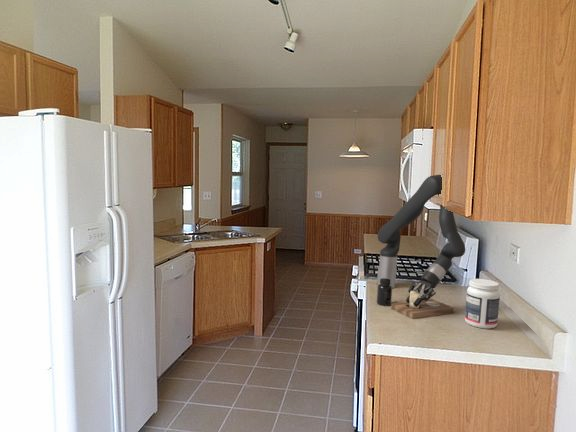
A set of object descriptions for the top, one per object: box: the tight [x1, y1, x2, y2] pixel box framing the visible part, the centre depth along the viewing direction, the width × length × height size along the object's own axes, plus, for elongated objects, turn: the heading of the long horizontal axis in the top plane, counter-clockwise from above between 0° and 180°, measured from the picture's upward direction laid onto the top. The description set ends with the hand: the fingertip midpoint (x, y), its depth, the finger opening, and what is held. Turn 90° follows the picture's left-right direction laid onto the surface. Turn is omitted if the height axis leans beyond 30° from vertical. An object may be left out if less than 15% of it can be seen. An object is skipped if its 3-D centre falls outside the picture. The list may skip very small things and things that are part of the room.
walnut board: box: [391, 298, 455, 320], centre depth 197 cm, size 14×24×3 cm, turn 115°
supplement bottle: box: [376, 278, 393, 307], centre depth 205 cm, size 7×7×12 cm
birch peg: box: [409, 290, 420, 309], centre depth 195 cm, size 4×4×9 cm
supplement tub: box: [464, 278, 501, 330], centre depth 182 cm, size 13×13×18 cm
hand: (411, 303), depth 194 cm, fingers closed on birch peg, 4 cm apart
